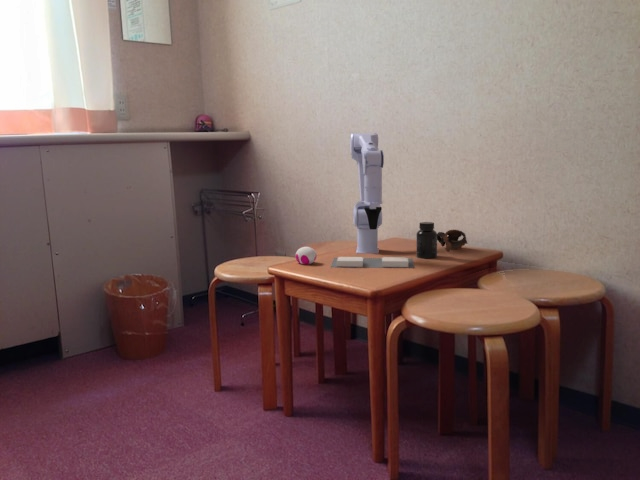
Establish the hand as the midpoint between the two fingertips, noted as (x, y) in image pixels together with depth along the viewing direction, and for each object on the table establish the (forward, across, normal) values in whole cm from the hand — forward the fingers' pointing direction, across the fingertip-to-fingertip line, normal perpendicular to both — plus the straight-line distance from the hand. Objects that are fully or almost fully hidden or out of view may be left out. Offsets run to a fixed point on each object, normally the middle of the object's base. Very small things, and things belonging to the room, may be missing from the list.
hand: (373, 229), depth 186 cm
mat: (+10, +6, 0) cm, 12 cm away
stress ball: (+11, +8, -22) cm, 26 cm away
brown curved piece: (+10, -22, +28) cm, 37 cm away
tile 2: (+9, +6, +7) cm, 13 cm away
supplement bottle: (+11, -5, +18) cm, 21 cm away
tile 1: (+9, +6, -7) cm, 13 cm away
